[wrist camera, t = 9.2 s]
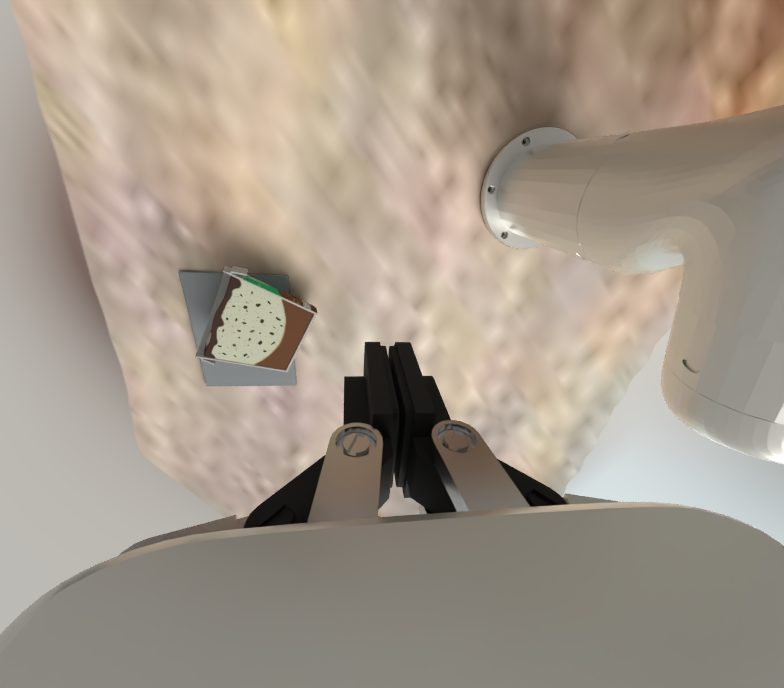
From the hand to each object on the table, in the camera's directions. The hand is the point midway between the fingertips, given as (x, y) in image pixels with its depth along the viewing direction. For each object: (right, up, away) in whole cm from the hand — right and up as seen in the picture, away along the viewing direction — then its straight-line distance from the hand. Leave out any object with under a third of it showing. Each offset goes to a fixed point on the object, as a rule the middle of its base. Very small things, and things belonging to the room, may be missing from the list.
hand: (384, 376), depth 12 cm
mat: (-19, +3, +29) cm, 35 cm away
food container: (-11, +3, +28) cm, 30 cm away
